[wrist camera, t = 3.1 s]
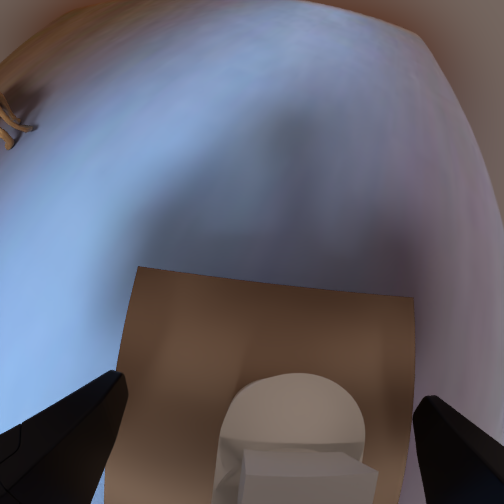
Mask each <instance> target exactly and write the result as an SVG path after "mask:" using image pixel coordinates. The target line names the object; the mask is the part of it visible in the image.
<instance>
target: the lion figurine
mask: <svg viewBox="0 0 504 504" xmlns="http://www.w3.org/2000/svg"><path fill="white" fill-rule="evenodd" d="M0 116H1V118H2V119H3V120H4V121H5V122H6V123H7V124H9V125H10V126H11V127H13V128H15V129H17V130H21V131H23V132H26V133H27V132H29V131H31V130H32V129H33V126H28V125H19V124H20V122H21V120H20V119H19V118H16V116H15V115H14V114H13V113H12V111H11V109H10V107H9V105H8V103H7V101H6V98H5V97H4V96H3V94H2V93H1V92H0ZM0 137H1V138H2V139H3V140H4V141H5V142H6V144H5V148H6V149H7V150H9V149H11V148H12V146H13V145H14V140H13V138H12V137H11V136H10V135H9V134H8V133H7V132H6V131H5V130H4V129H2V128H1V127H0Z"/></svg>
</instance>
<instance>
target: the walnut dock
mask: <svg viewBox="0 0 504 504" xmlns="http://www.w3.org/2000/svg"><path fill="white" fill-rule="evenodd" d="M116 371H118V372H122V373H124V375H125V378H126V383H127V387H128V392H129V396H128V401H127V404H126V407H125V411H124V414H123V418H122V421H121V425H120V428H119V432H118V435H117V438H116V441H115V444H114V446H113V449H112V451H111V454H110V456H109V458H108V461H107V463H106V466H105V484H104V504H211V501H212V493H213V484H214V476H215V468H216V459H217V451H218V443H219V436H220V431H221V427H222V424H223V421H224V418H225V416H226V414H227V411H228V409H229V406H230V404H231V402H232V400H233V398H234V397H235V395H236V394H237V393H238V392H239V391H240V390H241V389H242V388H243V387H244V386H246V385H248V384H249V383H251V382H254V381H257V380H260V379H265V378H269V377H274V376H278V375H282V374H289V373H307V374H314V375H318V376H322V377H324V378H327V379H329V380H331V381H333V382H335V383H337V384H338V385H340V386H341V387H342V388H344V389H345V390H346V391H347V392H348V393H349V394H350V395H351V396H352V398H353V399H354V400H355V401H356V403H357V405H358V407H359V409H360V411H361V413H362V416H363V420H364V424H365V444H364V451H363V458H362V463H363V464H365V465H367V466H369V467H371V468H373V469H375V470H377V471H379V473H378V478H377V484H376V489H375V494H374V499H373V503H372V504H398V501H399V497H400V492H401V487H402V483H403V477H404V472H405V466H406V460H407V454H408V447H409V440H410V431H411V422H412V411H413V398H414V380H415V317H414V298H412V297H400V296H388V295H376V294H365V293H355V292H344V291H334V290H324V289H314V288H305V287H296V286H287V285H278V284H269V283H261V282H252V281H244V280H236V279H228V278H220V277H212V276H205V275H197V274H190V273H182V272H175V271H168V270H161V269H154V268H147V267H140V266H138V269H137V273H136V277H135V281H134V285H133V289H132V293H131V297H130V301H129V306H128V310H127V315H126V319H125V324H124V329H123V334H122V339H121V344H120V350H119V355H118V361H117V367H116Z"/></svg>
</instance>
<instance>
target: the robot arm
mask: <svg viewBox="0 0 504 504" xmlns="http://www.w3.org/2000/svg"><path fill="white" fill-rule="evenodd" d="M128 396H129V392H128V387H127V383H126V378H125V375H124V373H122V372H118V371H115V370H110V371H108V372H106V373H104V374H103V375H101V376H99V377H98V378H96V379H95V380H93V381H91V382H90V383H88V384H86V385H85V386H83V387H81V388H80V389H78V390H76V391H75V392H73V393H71V394H70V395H68V396H66V397H65V398H63V399H61V400H60V401H58V402H56V403H55V404H53V405H51V406H50V407H48V408H46V409H45V410H43V411H41V412H39V413H38V414H36V415H34V416H33V417H31V418H29V419H27V420H26V421H24V422H22V424H19V425H17V426H15V427H13V428H12V429H10V430H8V431H6V432H4V433H2V434H0V504H91V501H92V499H93V496H94V493H95V491H96V488H97V486H98V483H99V481H100V478H101V476H102V473H103V471H104V468H105V466H106V463H107V461H108V458H109V456H110V454H111V451H112V449H113V446H114V444H115V441H116V438H117V435H118V432H119V428H120V425H121V421H122V418H123V414H124V411H125V407H126V404H127V401H128ZM413 426H414V434H415V441H416V450H417V457H418V463H419V467H420V472H421V477H422V482H423V487H424V492H425V498H426V504H504V446H502V445H501V444H500V443H498V442H497V441H496V440H495V439H493V438H492V437H491V436H489V435H488V434H487V433H485V432H484V431H483V430H481V429H480V428H479V427H477V426H476V425H475V424H473V423H472V422H471V421H469V420H468V419H467V418H465V417H464V416H463V415H461V414H460V413H459V412H457V411H456V410H455V409H453V408H452V407H451V406H450V405H448V404H447V403H446V402H444V401H443V400H442V399H440V398H439V397H438V396H436V395H431V396H425V397H424V398H423V399H422V400H421V402H420V404H419V405H418V407H417V409H416V410H415V412H414V414H413Z"/></svg>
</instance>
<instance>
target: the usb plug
mask: <svg viewBox="0 0 504 504" xmlns="http://www.w3.org/2000/svg"><path fill="white" fill-rule="evenodd" d="M364 444H365V424H364V420H363V416H362V413H361V411H360V409H359V407H358V405H357V403H356V401H355V400H354V399H353V398H352V396H351V395H350V394H349V393H348V392H347V391H346V390H345V389H344V388H342V387H341V386H340V385H338V384H337V383H335V382H333V381H331V380H329V379H327V378H324V377H322V376H318V375H314V374H307V373H289V374H282V375H278V376H274V377H269V378H265V379H260V380H257V381H254V382H251V383H249V384H248V385H246V386H244V387H243V388H242V389H241V390H240V391H239V392H238V393H237V394H236V395H235V397H234V398H233V400H232V402H231V404H230V406H229V409H228V411H227V414H226V416H225V418H224V421H223V424H222V427H221V431H220V436H219V443H218V451H217V459H216V468H215V476H214V484H213V493H212V501H211V504H372V503H373V499H374V494H375V489H376V484H377V478H378V473H379V471H377V470H375V469H373V468H371V467H369V466H367V465H365V464H363V463H362V458H363V451H364Z"/></svg>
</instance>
